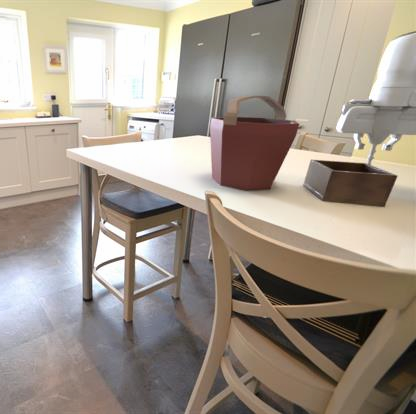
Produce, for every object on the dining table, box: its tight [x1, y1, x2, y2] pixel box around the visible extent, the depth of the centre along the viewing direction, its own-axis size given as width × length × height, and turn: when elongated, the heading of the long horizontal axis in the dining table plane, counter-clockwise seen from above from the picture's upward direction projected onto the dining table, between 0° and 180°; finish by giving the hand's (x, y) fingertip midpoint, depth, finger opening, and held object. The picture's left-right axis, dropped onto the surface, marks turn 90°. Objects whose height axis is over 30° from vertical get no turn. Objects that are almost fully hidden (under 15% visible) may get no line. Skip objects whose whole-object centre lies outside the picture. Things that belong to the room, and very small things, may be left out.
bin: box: [303, 159, 398, 207], centre depth 76 cm, size 14×14×8 cm
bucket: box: [209, 95, 300, 192], centre depth 84 cm, size 24×22×25 cm
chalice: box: [366, 111, 403, 165], centre depth 82 cm, size 7×7×18 cm
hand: (372, 149), depth 83 cm, fingers closed on chalice, 5 cm apart
